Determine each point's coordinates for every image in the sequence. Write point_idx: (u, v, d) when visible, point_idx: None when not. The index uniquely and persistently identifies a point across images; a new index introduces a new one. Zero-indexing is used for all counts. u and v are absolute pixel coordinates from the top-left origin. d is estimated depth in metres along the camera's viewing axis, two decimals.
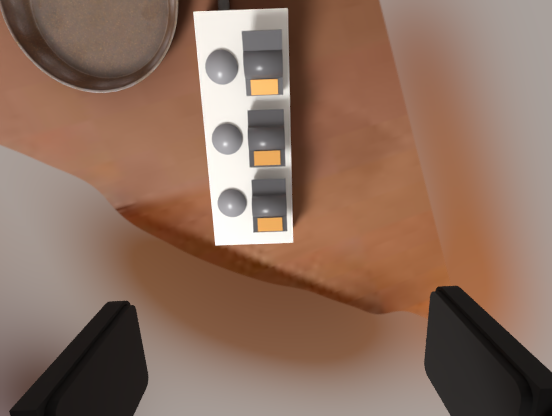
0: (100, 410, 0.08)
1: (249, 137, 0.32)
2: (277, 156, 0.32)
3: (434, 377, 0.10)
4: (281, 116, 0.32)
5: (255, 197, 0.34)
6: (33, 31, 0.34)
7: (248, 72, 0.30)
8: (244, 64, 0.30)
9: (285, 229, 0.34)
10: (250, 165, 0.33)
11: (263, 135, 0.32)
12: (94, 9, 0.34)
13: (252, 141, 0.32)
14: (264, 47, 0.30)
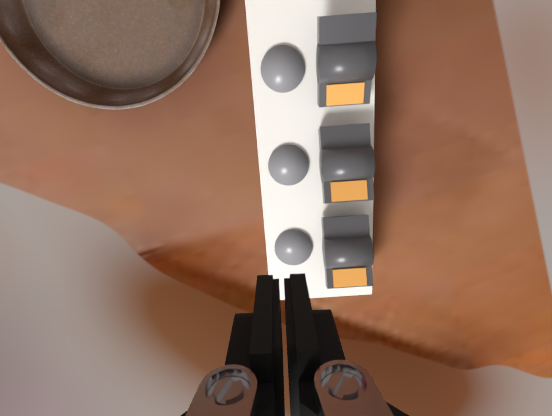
0: None
1: (326, 164, 0.23)
2: (363, 188, 0.24)
3: (287, 354, 0.11)
4: (366, 133, 0.24)
5: (330, 242, 0.25)
6: (26, 31, 0.26)
7: (326, 74, 0.21)
8: (322, 63, 0.21)
9: (370, 283, 0.26)
10: (326, 201, 0.24)
11: (345, 160, 0.23)
12: None
13: (330, 169, 0.23)
14: (350, 39, 0.21)
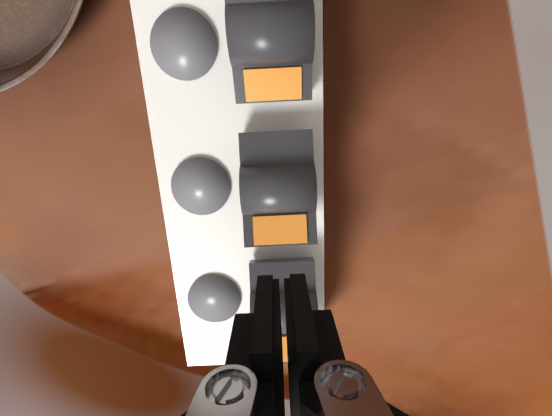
0: None
1: (242, 191, 0.15)
2: (301, 226, 0.16)
3: (287, 354, 0.11)
4: (307, 144, 0.16)
5: None
6: None
7: (237, 51, 0.14)
8: (228, 34, 0.13)
9: None
10: (246, 245, 0.16)
11: (272, 185, 0.15)
12: None
13: (249, 199, 0.15)
14: None
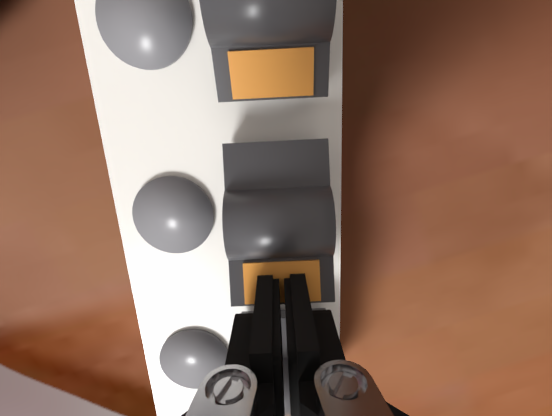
0: None
1: (227, 229, 0.10)
2: (311, 277, 0.11)
3: (287, 354, 0.11)
4: (321, 160, 0.11)
5: None
6: None
7: (216, 21, 0.09)
8: None
9: None
10: (233, 302, 0.11)
11: (271, 221, 0.10)
12: None
13: (237, 240, 0.10)
14: None
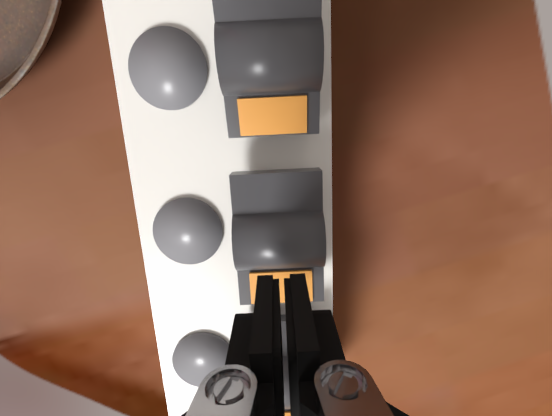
0: None
1: (236, 252, 0.12)
2: None
3: (287, 354, 0.11)
4: (316, 189, 0.13)
5: None
6: None
7: (229, 78, 0.11)
8: (218, 57, 0.11)
9: None
10: (242, 302, 0.14)
11: (272, 245, 0.12)
12: None
13: (244, 259, 0.13)
14: (273, 12, 0.11)
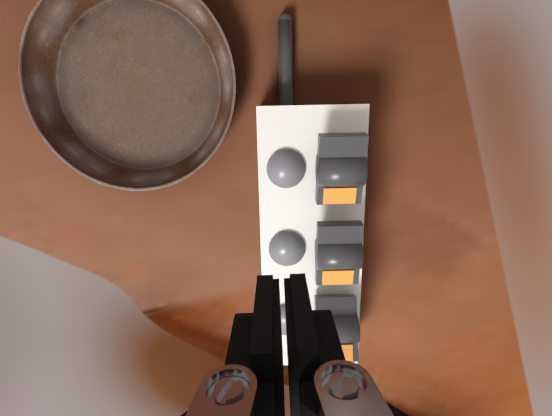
0: None
1: (320, 263, 0.26)
2: (350, 276, 0.27)
3: (287, 354, 0.11)
4: (359, 234, 0.26)
5: None
6: (59, 117, 0.29)
7: (323, 182, 0.25)
8: (320, 174, 0.24)
9: (356, 359, 0.28)
10: (317, 283, 0.28)
11: (338, 260, 0.26)
12: (132, 93, 0.29)
13: (323, 266, 0.26)
14: (345, 154, 0.24)
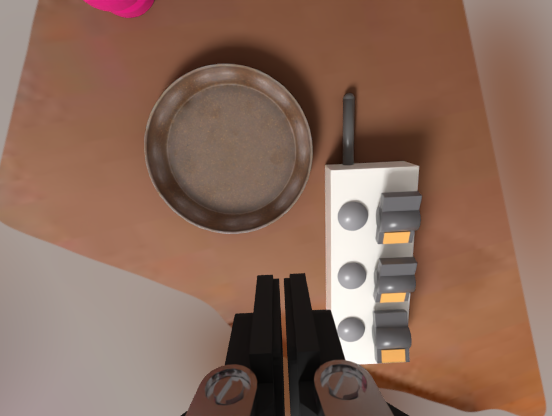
0: None
1: (382, 290, 0.34)
2: (402, 296, 0.36)
3: (287, 354, 0.11)
4: (413, 268, 0.34)
5: (380, 331, 0.36)
6: (169, 177, 0.37)
7: (386, 229, 0.32)
8: (384, 224, 0.32)
9: (407, 360, 0.37)
10: (376, 301, 0.36)
11: (395, 288, 0.34)
12: (226, 156, 0.37)
13: (384, 292, 0.34)
14: (403, 209, 0.32)
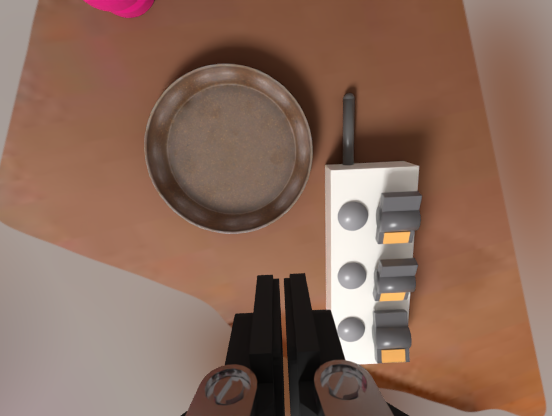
0: None
1: (382, 291, 0.34)
2: (402, 295, 0.36)
3: (287, 354, 0.11)
4: (414, 270, 0.33)
5: (380, 331, 0.36)
6: (169, 177, 0.37)
7: (386, 229, 0.32)
8: (384, 224, 0.32)
9: (407, 360, 0.37)
10: (375, 300, 0.36)
11: (395, 289, 0.34)
12: (226, 156, 0.37)
13: (383, 292, 0.34)
14: (403, 209, 0.32)
